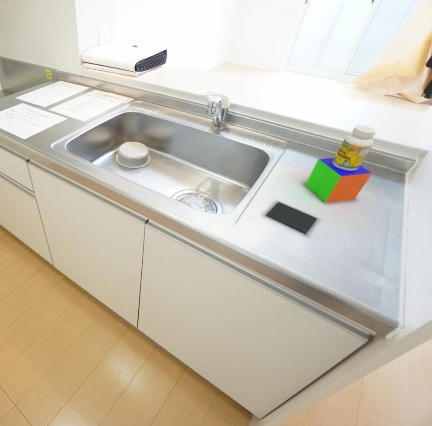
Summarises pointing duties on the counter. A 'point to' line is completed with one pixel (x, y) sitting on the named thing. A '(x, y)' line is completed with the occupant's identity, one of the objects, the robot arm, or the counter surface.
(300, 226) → the mat
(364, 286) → the counter surface
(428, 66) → the robot arm
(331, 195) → the cube
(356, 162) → the supplement bottle
